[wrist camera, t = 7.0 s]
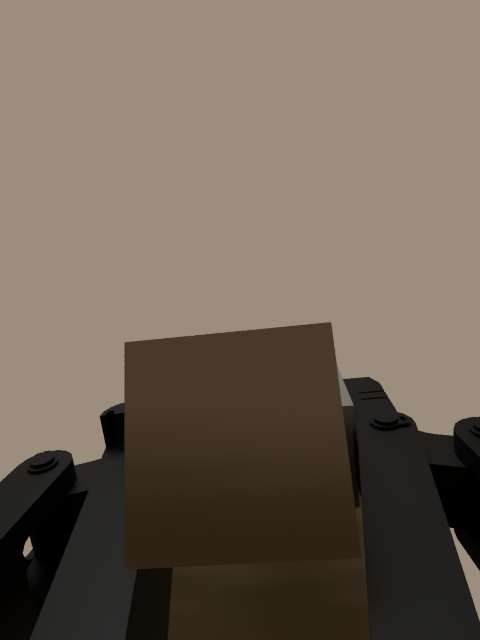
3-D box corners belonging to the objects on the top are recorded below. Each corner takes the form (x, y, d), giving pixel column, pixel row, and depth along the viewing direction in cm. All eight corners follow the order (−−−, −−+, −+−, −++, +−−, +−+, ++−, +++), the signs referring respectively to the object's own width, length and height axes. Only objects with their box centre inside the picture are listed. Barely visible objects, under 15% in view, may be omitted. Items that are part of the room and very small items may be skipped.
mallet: (489, 551, 5) (404, 128, 7) (13, 575, 6) (38, 177, 8) (331, 465, 28) (320, 371, 30) (237, 472, 29) (231, 379, 31)
